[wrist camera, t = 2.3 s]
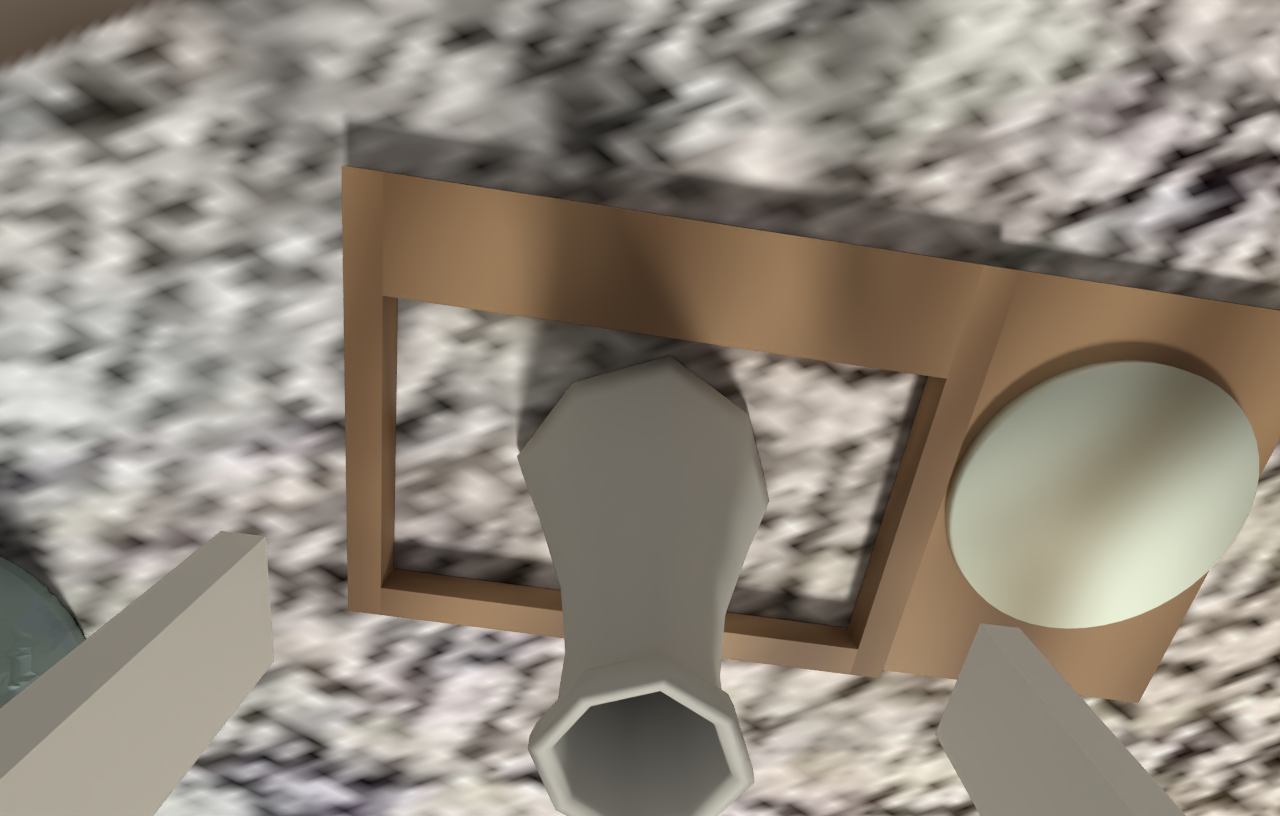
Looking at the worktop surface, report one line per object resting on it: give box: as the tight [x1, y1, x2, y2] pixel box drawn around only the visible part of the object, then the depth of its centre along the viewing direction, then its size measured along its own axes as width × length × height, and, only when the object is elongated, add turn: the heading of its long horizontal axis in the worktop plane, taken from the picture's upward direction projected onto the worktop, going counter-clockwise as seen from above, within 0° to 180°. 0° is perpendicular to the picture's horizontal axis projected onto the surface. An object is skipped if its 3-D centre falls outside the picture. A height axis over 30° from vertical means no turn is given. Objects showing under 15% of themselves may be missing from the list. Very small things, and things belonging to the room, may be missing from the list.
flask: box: [517, 356, 769, 816], centre depth 14 cm, size 7×7×10 cm
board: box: [342, 166, 1280, 703], centre depth 17 cm, size 26×13×1 cm, turn 82°
